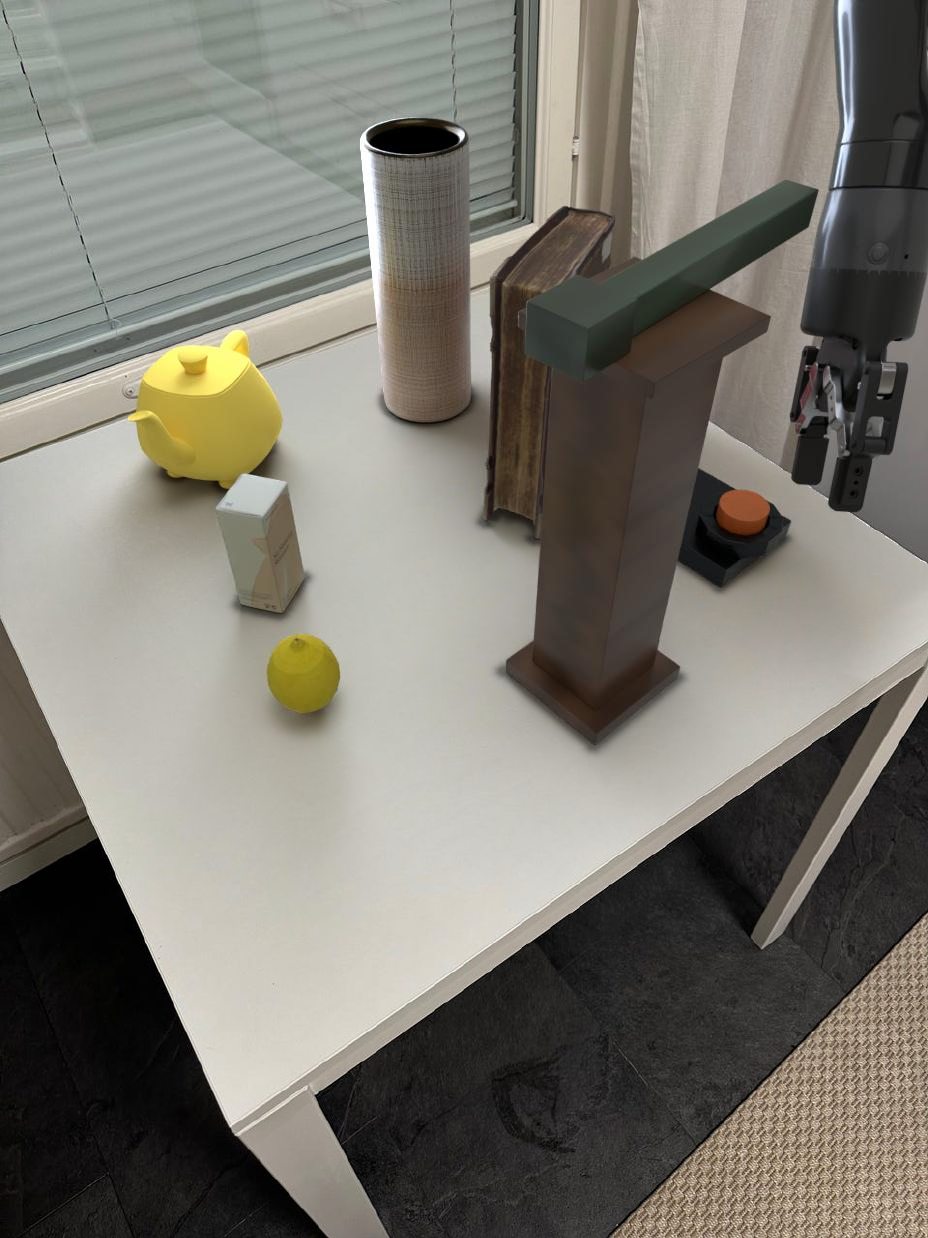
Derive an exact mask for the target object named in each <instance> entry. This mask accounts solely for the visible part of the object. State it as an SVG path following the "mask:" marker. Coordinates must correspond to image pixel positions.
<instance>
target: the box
mask: <svg viewBox="0 0 928 1238" xmlns="http://www.w3.org/2000/svg"><path fill="white" fill-rule="evenodd" d="M289 490H290V489H289V484H288V482H287V481H283V480H280V479H279V480H278V479H274V478H269V477H265V476H259V475H253V474H250V473H249V474H242V475H241V476H240V477H239V478H238V480H237V481H236V482H235V483H234V485H233V486H232V487H231V488H230V489H228V491H227V492H226V493H225V495H224V496H223V498H222V499H221V500H220V501H219V503H218V505H217V506H216V507H215V512H216V515H217V520H218V524H219V527H220V532H221V535H222V539H223V543H224V546H225V550H226V554H227V558H228V562H229V565H230V570H231V574H232V577H233V581H234V584H235V588H236V592H237V596H238V600H239V603H240V605H243V606H247V607H250V608H254V609H259V610H263V611H268V612H269V611H270V612H272V613H279V614H282V613H283V614H284V612H285V611H286V609H287V608H288V606H289V605H290V603H291V601H292V600H293V598H294V597H295V595H296V593H297V591H298V590H299V588H300V587H301V585H302V583H303V582H304V580H305V577H306V575H305V571H304V570H305V569H304V566H303V561H302V555H301V547H300V543H299V538H298V533H297V528H296V523H295V516H294V512H293V506H292V501H291V495H290V491H289Z"/></svg>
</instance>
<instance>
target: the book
mask: <svg viewBox="0 0 928 1238" xmlns="http://www.w3.org/2000/svg"><path fill="white" fill-rule="evenodd" d="M615 223H616V216H615V214H609V213H607V212H605V211H602V210H596V209H589V208H580V207H579V208H577V207H573V206H567V205H562V206H561V207H560V208H558V209H557V210H556V211H554V212H553V213H552V214H551V215H550V216H549V217H547V218H546V219H545V222H544V223H543V224H542V225H541V226H540V227H539V228H538V229H537V230H536V231H535V232H533V234H532V235H531V236H529V237H528V239H526V241H525V242H524V243H522V244H521V246H520V247H519V248H518V249H517V250H516V251H515V252H514V253H513V254H512V255H509V256H508V257H506V258H505V259H504V260H502V262H501V263H500V264H499V266H498V267H497V268H496V269H495V270H494V271H493V273H492V274H491V275H490V276H489V318H490V326H491V339H490V342H489V352H491V372H490V393H489V396H490V397H489V398H490V399H489V421H488V422H489V424H488V448H487V458H486V462H485V463H484V464H485V470H486V484H485V487H484V492H483V510H482V512H483V513H482V518H483V520H484V521H488V520H489V519H490V518H491V516H492V515H493V514H494V512H495V511H497V510H498V509H501V510H507V511H509V512H513V513H515V514H519V515H521V516H524V518H525V517H526V518H527V519H528V520H529V519H530V520H531V521H532V522H533V523H532V524H533V526H534V530H533V537H534V538H535V539H541V526H542V511H543V497H544V482H545V468H546V453H547V439H548V424H549V410H550V395H551V381H552V367H550V366H548V365H546V364H544V363H542V362H540V361H538V360H536V359H534V358H531V357H529V356H527V355H525V332H526V331H524V330H522V329H520V328H519V327H518V314H519V311H521V310H523V309H525V308H527V301H529V300H530V299H532V298H534V297H536V296H538V295H540V294H542V293H543V292H545V291H547V290H549V289H551V288H553V287H554V286H556V285H558V284H560V283H562V282H564V281H565V280H567V279H569V278H571V277H573V276H575V275H579V276H582V277H584V278H587V279H589V278H591V277H593V276H595V275H597V274H599V273H602V272H604V271H606V270H608V269H610V268H611V265H612V261H611V253H612V246H613V244H612V243H613V237H614V232H615Z"/></svg>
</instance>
